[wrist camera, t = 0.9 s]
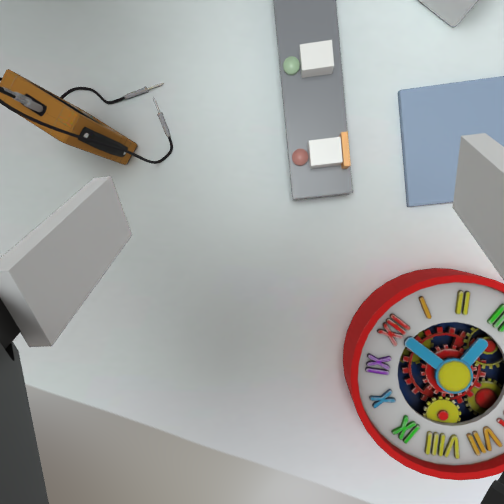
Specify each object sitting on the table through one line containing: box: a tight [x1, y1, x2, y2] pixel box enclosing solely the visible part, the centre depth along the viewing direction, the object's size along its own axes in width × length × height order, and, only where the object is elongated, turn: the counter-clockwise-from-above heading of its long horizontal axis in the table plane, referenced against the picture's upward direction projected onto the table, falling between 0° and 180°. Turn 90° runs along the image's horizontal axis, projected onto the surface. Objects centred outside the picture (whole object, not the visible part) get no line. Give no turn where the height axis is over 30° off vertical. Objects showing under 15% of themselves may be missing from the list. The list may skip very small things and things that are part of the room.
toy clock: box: [343, 268, 504, 480], centre depth 41 cm, size 20×6×20 cm
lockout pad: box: [398, 76, 504, 207], centre depth 41 cm, size 12×12×1 cm
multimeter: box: [0, 69, 173, 165], centre depth 35 cm, size 15×10×20 cm
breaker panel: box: [274, 0, 353, 200], centre depth 40 cm, size 26×6×5 cm, turn 6°
